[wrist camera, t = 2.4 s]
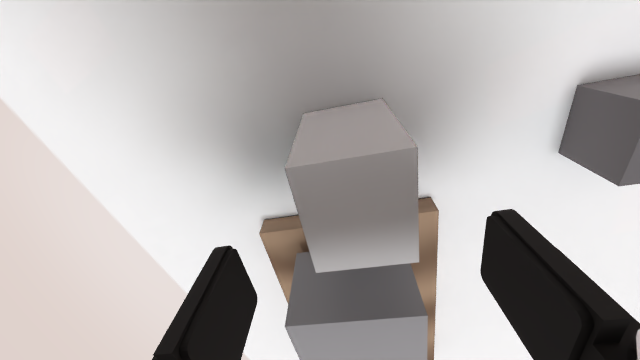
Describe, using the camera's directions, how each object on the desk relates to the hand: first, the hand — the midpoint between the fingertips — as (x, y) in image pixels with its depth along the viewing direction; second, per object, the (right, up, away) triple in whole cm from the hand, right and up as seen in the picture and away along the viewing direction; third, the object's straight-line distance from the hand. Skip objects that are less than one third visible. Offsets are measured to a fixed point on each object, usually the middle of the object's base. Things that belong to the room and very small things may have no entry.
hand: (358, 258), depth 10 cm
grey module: (0, +5, +6) cm, 8 cm away
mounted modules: (+2, -9, +11) cm, 15 cm away
